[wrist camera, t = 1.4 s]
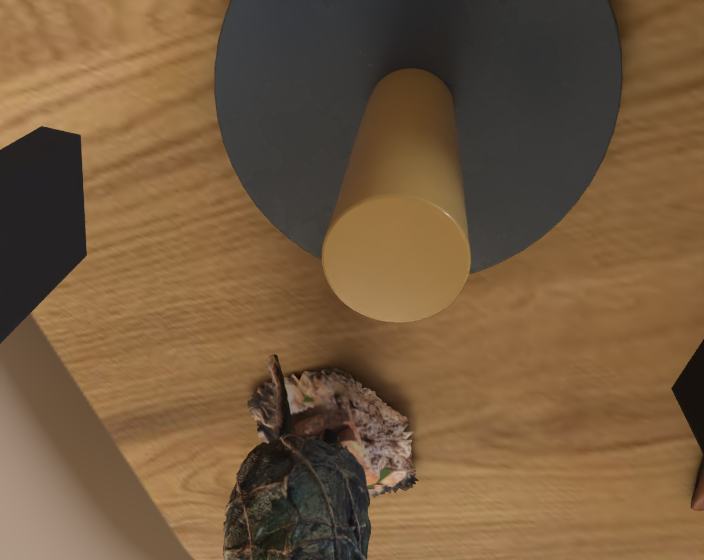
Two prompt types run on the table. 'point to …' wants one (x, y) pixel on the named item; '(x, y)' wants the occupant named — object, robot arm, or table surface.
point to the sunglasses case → (699, 490)
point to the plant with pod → (315, 469)
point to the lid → (416, 132)
